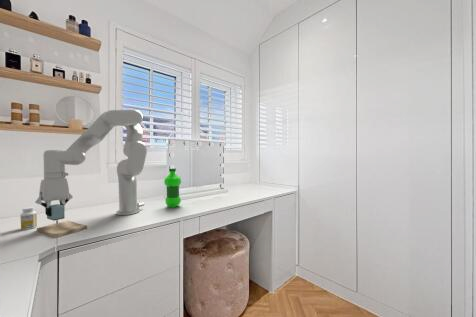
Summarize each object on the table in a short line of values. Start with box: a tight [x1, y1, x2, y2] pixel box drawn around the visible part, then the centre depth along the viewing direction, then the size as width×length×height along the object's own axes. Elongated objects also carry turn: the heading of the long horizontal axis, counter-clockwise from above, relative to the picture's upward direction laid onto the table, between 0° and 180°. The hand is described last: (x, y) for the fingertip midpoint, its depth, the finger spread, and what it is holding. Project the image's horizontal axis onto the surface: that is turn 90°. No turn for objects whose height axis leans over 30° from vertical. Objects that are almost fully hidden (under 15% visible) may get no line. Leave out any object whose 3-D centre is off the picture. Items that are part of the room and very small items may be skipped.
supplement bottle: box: [20, 206, 38, 231], centre depth 100 cm, size 5×5×10 cm
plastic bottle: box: [163, 167, 182, 208], centre depth 137 cm, size 10×10×25 cm
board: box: [36, 220, 88, 238], centre depth 97 cm, size 12×18×1 cm, turn 62°
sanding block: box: [46, 203, 66, 222], centre depth 99 cm, size 7×4×6 cm, turn 62°
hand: (55, 214), depth 99 cm, fingers closed on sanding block, 4 cm apart
